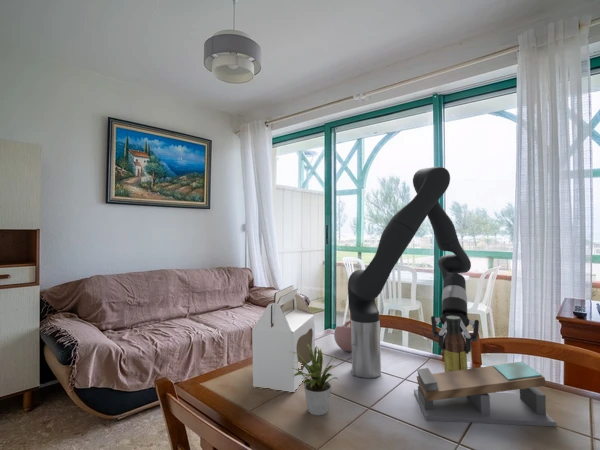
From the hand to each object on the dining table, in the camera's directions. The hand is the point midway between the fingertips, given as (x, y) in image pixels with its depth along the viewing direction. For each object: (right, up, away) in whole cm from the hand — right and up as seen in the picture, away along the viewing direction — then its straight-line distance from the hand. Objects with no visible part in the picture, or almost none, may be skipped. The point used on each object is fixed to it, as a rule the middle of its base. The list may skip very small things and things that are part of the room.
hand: (454, 350), depth 100 cm
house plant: (-42, -11, -11) cm, 45 cm away
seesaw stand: (0, -10, -13) cm, 16 cm away
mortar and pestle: (-26, -12, +31) cm, 42 cm away
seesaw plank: (0, -4, -13) cm, 13 cm away
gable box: (-50, -12, +10) cm, 52 cm away
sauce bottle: (+1, -11, +1) cm, 11 cm away
